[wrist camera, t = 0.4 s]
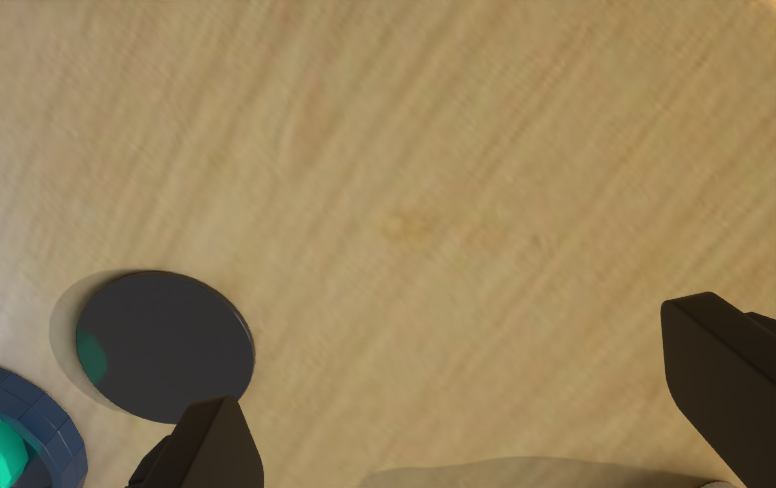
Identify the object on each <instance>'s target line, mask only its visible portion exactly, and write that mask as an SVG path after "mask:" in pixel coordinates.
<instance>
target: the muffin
mask: <svg viewBox="0 0 776 488" xmlns="http://www.w3.org/2000/svg"><path fill="white" fill-rule="evenodd" d="M700 488H739V487H737V486H735V485H733V484H731V483H727V482H722V481H720V482H714V483H712V482H711V483H710V484H706V485H705V486H703V487H700Z"/></svg>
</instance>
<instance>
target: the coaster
mask: <svg viewBox="0 0 776 488" xmlns="http://www.w3.org/2000/svg"><path fill="white" fill-rule="evenodd" d="M76 345H77V352H78V355H79V359H80V362H81V364H82V366H83V369H84V371H85V372H86V374H87V376H88V377H89V379H90V380H91V382H92V383H93V384H94V386H95V387H96V388H97V389H98V390H99V391H100V392H101V393H102V394H103V395H104V396H105V397H106V398H107V399H109V400H110V401H111V402H112V403H114V404H115V405H117V406H118V407H120V408H122V409H123V410H125V411H127V412H129V413H131V414H133V415H136V416H138V417H141V418H143V419H147V420H150V421H154V422H160V423H166V424H177V423H178V422H179V420H180V418H181V417H182V415H183V413H184V412H185V410H186V408H187V407H188V405H190V404H191V403H194V402H198V401H203V400H207V399H212V398H216V397H221V396H226V395H232V396H234V397H235V398H236V400H237V401H238V400H239V399H240V398H241V397H242V395H243V394H244V393H245V391H246V389H247V387H248V385H249V383H250V381H251V378H252V375H253V372H254V367H255V346H254V341H253V338H252V334H251V332H250V329H249V327H248V325H247V323H246V321H245V320H244V318H243V317H242V315H241V314H240V312H239V311H238V310H237V309H236V307H235V306H234V305H233V304H232V303H231V302H230V301H229V300H228V299H227V298H226V297H224V296H223V295H222V294H220V293H219V292H218V291H216V290H215V289H213V288H212V287H210V286H208V285H207V284H205V283H202V282H200V281H198V280H196V279H193V278H190V277H187V276H184V275H180V274H176V273H171V272H161V271H150V272H140V273H134V274H130V275H127V276H123V277H121V278H119V279H116V280H114V281H112V282H111V283H109V284H108V285H106V286H104V287H103V288H102V289H101V290H100V291H99V292H97V293H96V294H95V295H94V296H93V297H92V298H91V299H90V301H89V302H88V303H87V304H86V306H85V308H84V309H83V311H82V313H81V316H80V318H79V321H78V325H77V331H76Z"/></svg>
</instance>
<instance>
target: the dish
mask: <svg viewBox="0 0 776 488" xmlns="http://www.w3.org/2000/svg"><path fill="white" fill-rule="evenodd" d="M0 420H1V421H3V422H4V423H6V424H8V425H9V426H10V427H11V428H12V429H13V430H14V431H15V432H16V433H18V434H19V435H20V436H21V437H22V438H23V441H24V444H25V448H26V451H27V454H28V457H29V458H28V461H27V463H26V466H25V468H24V470H23V473H22V475H21V476H20V477H19V478H18V479H17V481H16V482H15V483H14V484H13V485H12V486H11V488H83V485H84V482H85V478H86V475H87V471H88V464H87V457H86V451H85V444H84V441H83V439H82V437H81V436H80V434H79V432H78V430H77V429H76V427H75V425H74V423H73V421H72V420H71V418H70V417H69V415H68V414H67V413H66V412H65V411H64V410H63V409H62V408H61V407H60V406H59V405H58V404H57V403H56V402H55V401H54V400H53V399H52V398H51V397H50V396H49V395H48V394H47V393H45V392H44V391H43V390H41V389H40V388H38V387H36V386H35V385H33V384H31V383H30V382H28V381H26V380H24V379H23V378H21V377H19V376H18V375H16V374H14V373H12V372H10V371H7V370H4V369H1V368H0Z"/></svg>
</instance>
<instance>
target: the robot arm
mask: <svg viewBox="0 0 776 488" xmlns="http://www.w3.org/2000/svg"><path fill="white" fill-rule="evenodd" d="M661 327H662V339H663V351H664V363H665V374H666V380H667V384H668V388H669V390H670V393H671V395H672V397H673V400H674V401H675V403H676V405H677V407H678V408H679V409H680V411H681V412H682V413H683V414H684V415H685V417H686V418H687V419H688V420H689V421H690V422H691V424H692V425H693V426H694V427H695V428H696V429H697V430H698V432H699V433H700V434H701V435H702V436H703V437H704V438H705V440H706V441H707V442H708V443H709V444H710V445H711V446H712V448H713V449H714V450H715V451H716V452H717V453H718V455H719V456H720V457H721V458H722V459H723V460H724V461H725V463H726V464H727V465H728V466H729V467H730V468H731V469H732V471H733V472H734V473H735V474H736V475H737V476H738V478H739V479H740V480H741V481H742V482H743V483H744V484H745V486H746V487H747V488H776V320H775V319H772V318H769V317H766V316H763V315H760V314H757V313H754V312H748V313H743V312H741V311H740V310H738V309H737V308H736V307H734V306H733V305H731V304H730V303H728V302H727V301H725V300H724V299H722V298H721V297H719V296H718V295H716V294H715V293H713V292H703V293H698V294H694V295H689V296H685V297H680V298H676V299H671V300H666V301H664V302H663V303H662V306H661ZM128 483H129V485H128V486H126V487H125V488H264V471H263V465H262V461H261V458H260V455H259V453H258V450H257V448H256V445H255V443H254V440H253V438H252V435H251V433H250V430H249V428H248V425H247V423H246V420H245V418H244V415H243V413H242V410H241V408H240V405H239V403H238V401H237V400H236V398H235V397H234V396H232V395H226V396H221V397H216V398H212V399H207V400H203V401H198V402H194V403H191V404H190V405H188V407H187V408H186V410H185V412H184V413H183V415H182V417H181V418H180V420H179V422H178V423H177V425H176V427H175V429H174V430H173V432H172V434H171V435H168V436H165V437H164V438H163V439H162V440H161V441H160V442H159V443H158V444H157V445H156V446H155V447H154V448H153V449H152V450H151V451H150V452H149V453H148V454H147V455H146V456H145V457H144V458H143V459H142V461H141V462H140V464H139V465H138V467H137V469H136V470H135V472H134V473H133V475H132V477H131V478H130V480H129V481H128Z"/></svg>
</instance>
